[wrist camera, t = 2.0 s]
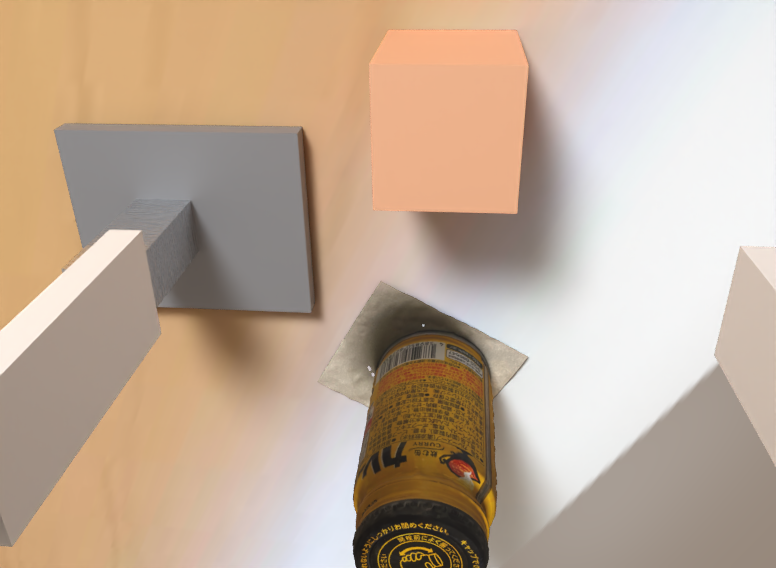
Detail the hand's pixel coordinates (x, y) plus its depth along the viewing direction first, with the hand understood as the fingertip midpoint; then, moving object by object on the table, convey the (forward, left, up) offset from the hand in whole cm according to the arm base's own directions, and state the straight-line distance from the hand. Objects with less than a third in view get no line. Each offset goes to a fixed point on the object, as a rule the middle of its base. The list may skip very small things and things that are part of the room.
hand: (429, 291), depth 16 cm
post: (+6, -13, -17) cm, 22 cm away
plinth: (+6, -12, -17) cm, 21 cm away
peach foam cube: (0, 0, -17) cm, 17 cm away
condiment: (+14, -1, -17) cm, 22 cm away
